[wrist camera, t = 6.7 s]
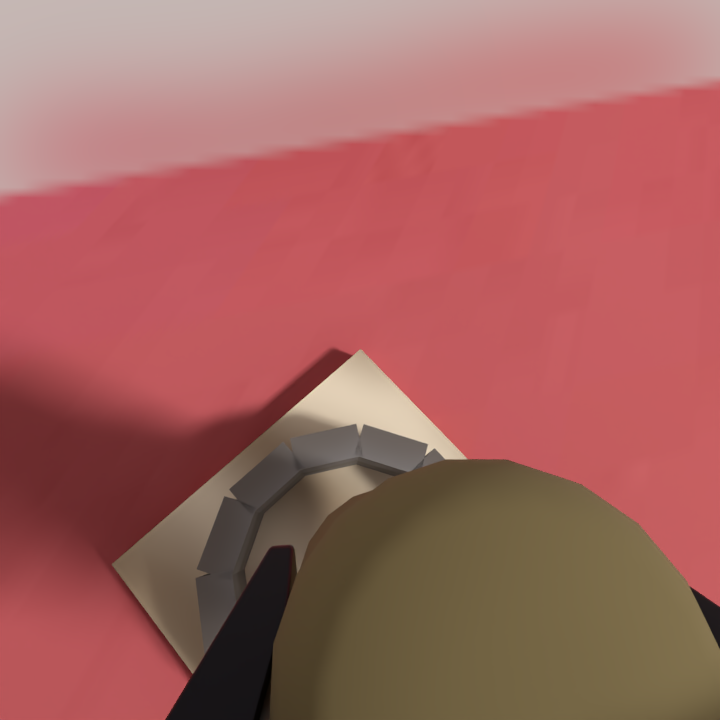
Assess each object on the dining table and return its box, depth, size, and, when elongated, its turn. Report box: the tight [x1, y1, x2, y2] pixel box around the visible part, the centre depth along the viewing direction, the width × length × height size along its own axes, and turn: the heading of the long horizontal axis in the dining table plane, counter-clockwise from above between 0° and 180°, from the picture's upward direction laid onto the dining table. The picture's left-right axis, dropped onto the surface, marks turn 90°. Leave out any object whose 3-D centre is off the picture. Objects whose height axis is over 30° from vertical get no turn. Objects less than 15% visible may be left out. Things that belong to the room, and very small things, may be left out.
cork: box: [269, 459, 720, 720], centre depth 10 cm, size 6×6×11 cm
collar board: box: [112, 349, 467, 674], centre depth 19 cm, size 13×13×4 cm
